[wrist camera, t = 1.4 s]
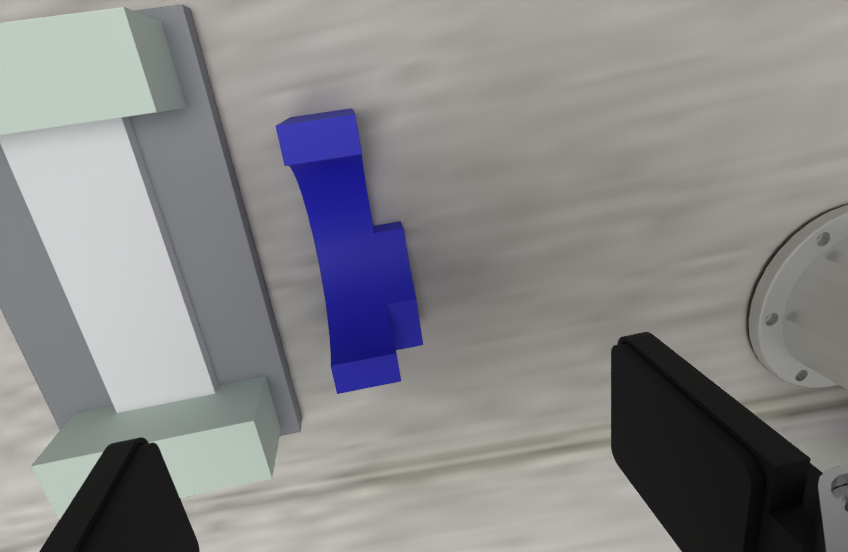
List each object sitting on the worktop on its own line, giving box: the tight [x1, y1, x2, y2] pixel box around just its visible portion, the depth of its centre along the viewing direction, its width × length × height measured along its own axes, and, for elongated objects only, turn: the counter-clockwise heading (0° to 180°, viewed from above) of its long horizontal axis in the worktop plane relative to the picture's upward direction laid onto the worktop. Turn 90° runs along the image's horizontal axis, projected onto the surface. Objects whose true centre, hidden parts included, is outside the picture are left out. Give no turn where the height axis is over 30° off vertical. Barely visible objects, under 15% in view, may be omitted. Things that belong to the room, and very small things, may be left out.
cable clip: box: [276, 109, 423, 394], centre depth 24 cm, size 12×4×6 cm, turn 8°
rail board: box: [0, 5, 302, 520], centre depth 23 cm, size 12×22×5 cm, turn 8°
